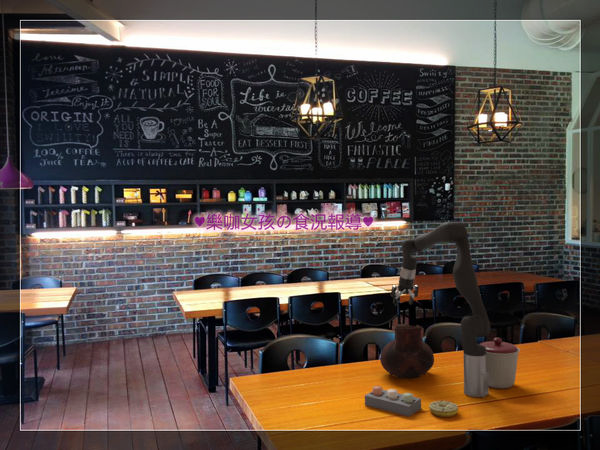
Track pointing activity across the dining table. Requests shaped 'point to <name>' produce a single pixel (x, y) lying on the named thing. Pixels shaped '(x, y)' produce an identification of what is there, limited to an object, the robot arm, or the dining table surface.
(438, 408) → the decorated donut
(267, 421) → the dining table surface
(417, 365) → the jug
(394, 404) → the block
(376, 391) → the terracotta button
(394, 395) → the ivory button
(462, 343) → the robot arm
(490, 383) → the canister
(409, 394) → the sage button
